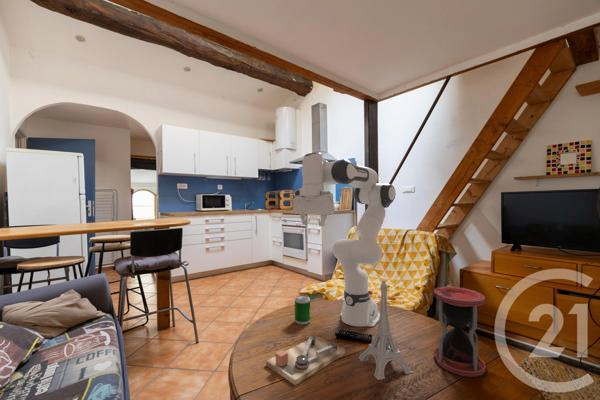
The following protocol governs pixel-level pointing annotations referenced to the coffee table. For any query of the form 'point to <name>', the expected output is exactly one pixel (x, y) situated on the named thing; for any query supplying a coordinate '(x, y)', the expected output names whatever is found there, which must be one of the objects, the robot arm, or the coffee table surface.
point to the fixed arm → (319, 355)
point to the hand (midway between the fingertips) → (313, 225)
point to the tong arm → (306, 352)
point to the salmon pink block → (281, 358)
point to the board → (299, 375)
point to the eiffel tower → (384, 342)
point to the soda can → (302, 309)
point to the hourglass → (459, 331)
